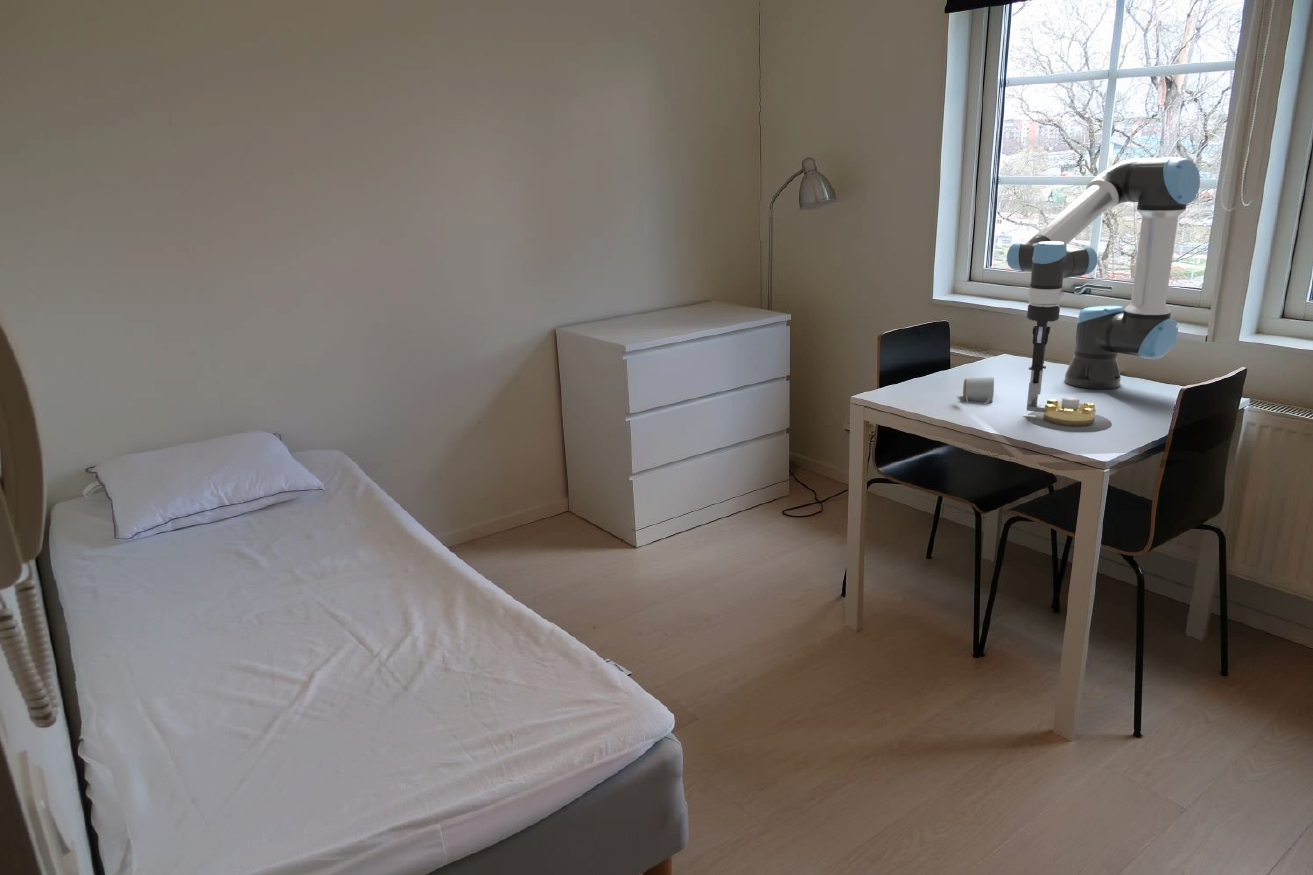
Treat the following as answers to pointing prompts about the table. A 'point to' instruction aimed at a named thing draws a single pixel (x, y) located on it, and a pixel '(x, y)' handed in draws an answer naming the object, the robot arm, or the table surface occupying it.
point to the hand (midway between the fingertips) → (1034, 393)
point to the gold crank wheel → (1060, 410)
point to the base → (1069, 403)
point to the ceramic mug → (979, 389)
